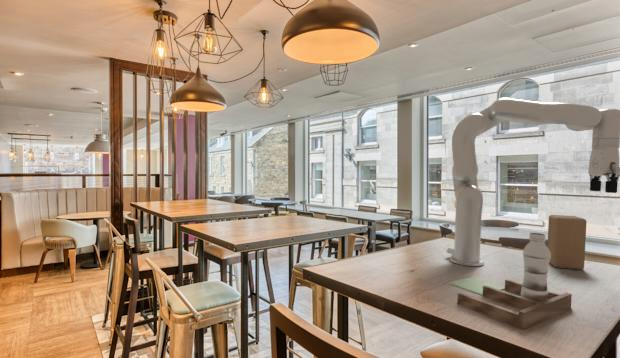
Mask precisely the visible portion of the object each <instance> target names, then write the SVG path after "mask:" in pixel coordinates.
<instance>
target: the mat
mask: <svg viewBox="0 0 620 358" xmlns="http://www.w3.org/2000/svg"><path fill="white" fill-rule="evenodd" d="M447 284H448V285H451V286H453V287H458V288H460V289H463V290H465V291H469V292H471V293H475V294H476V295H477V294H478V295H481V296H483V286H489V287H492V288H495V289H498V290H501V291H504V290H506V289H505V286H504V287H503V286H499V285H498V284H497V285H496V284H493V283H490V282H487V281H484V280H480V279H477V278H474V277H471V276H470V277H466V278H461V279H458V280H457V279H456V280H454V281H450V282H447Z"/></svg>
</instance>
